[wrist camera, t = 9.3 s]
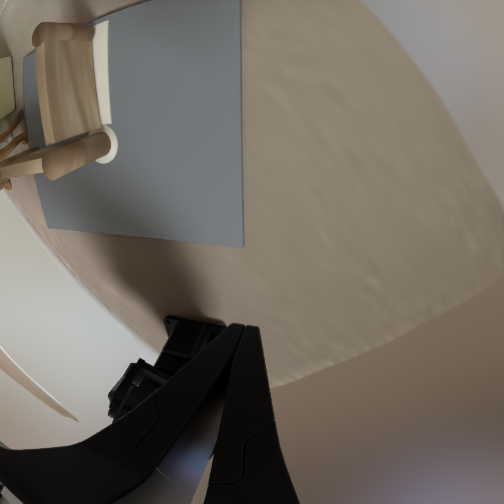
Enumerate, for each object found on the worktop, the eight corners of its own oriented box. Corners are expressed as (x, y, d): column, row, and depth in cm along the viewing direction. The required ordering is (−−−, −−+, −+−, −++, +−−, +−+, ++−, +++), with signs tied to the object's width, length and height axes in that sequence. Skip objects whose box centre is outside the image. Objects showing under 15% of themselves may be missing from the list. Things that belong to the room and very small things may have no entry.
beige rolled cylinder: (94, 21, 13) (47, 17, 9) (104, 126, 17) (58, 141, 14) (77, 30, 13) (32, 29, 9) (88, 131, 18) (43, 147, 14)
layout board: (244, 245, 21) (242, 248, 21) (50, 226, 25) (47, 228, 25) (241, -15, 12) (239, -17, 11) (25, 58, 15) (22, 59, 15)
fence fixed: (113, 155, 19) (62, 179, 14) (34, 165, 21) (-8, 187, 16) (110, 129, 18) (57, 148, 13) (30, 146, 20) (-13, 166, 15)
